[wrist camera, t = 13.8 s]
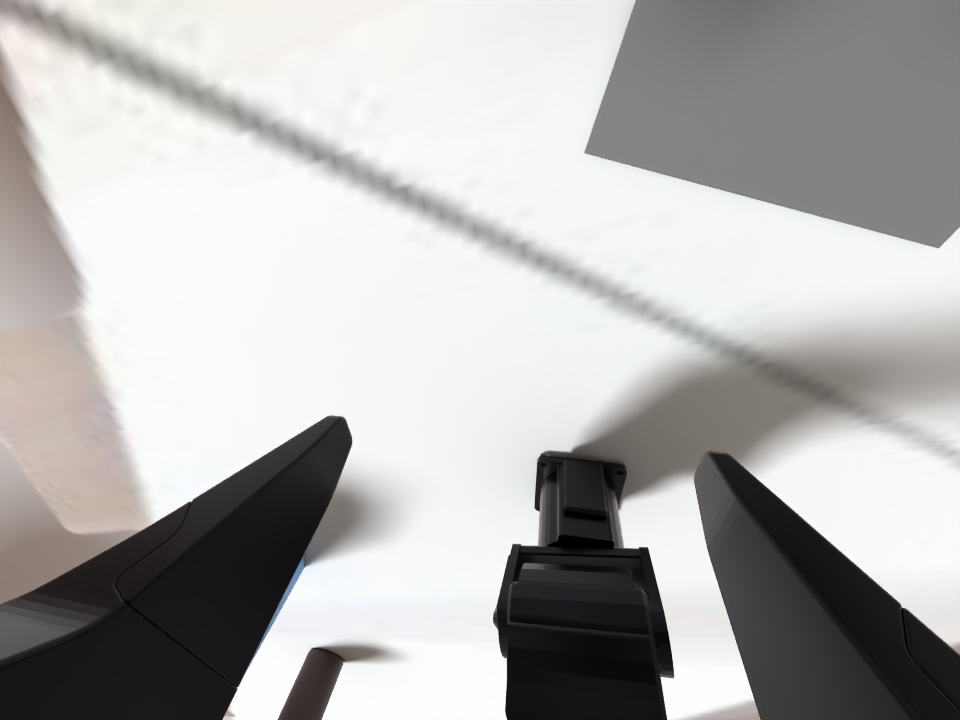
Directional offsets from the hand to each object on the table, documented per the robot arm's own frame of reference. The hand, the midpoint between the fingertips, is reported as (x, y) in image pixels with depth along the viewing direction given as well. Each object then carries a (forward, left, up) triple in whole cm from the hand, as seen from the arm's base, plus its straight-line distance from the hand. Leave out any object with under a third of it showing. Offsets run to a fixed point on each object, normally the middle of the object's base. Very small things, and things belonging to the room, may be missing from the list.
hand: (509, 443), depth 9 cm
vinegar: (-76, +36, -13) cm, 85 cm away
